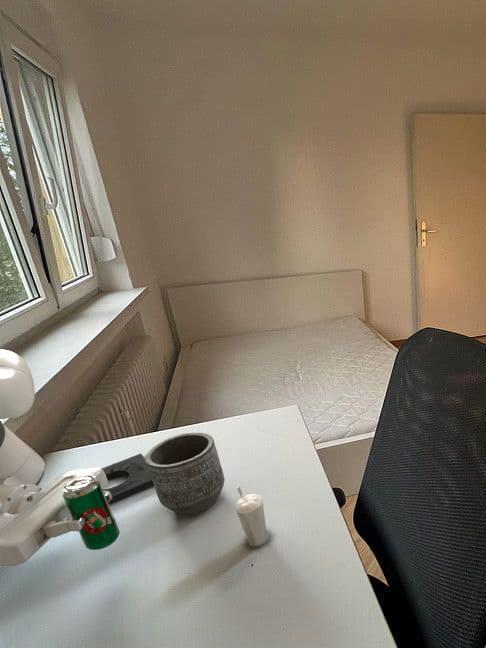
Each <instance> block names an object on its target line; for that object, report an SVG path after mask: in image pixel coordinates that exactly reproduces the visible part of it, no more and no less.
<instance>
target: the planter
mask: <svg viewBox="0 0 486 648" xmlns="http://www.w3.org/2000/svg"><path fill="white" fill-rule="evenodd" d="M219 457H220V456H219V453H218V450H217V446H216V444H215V440H214V437H212V435H210V434H208V433H205V432H186V433H181V434H177V435H174V436H171V437H167V439H164V440H162V441H161V442H159V443H157V444H156V445H154V446H153V447H151V448H150V449H149V450H148V452H147V453H146V454H145V457H144V458H145V461H146V464H147V467H148V471H149V473H150V476H151V479H152V481H153V484H154V486H153V487H154V490H155V493H156V495H157V498H158V501H159V503H160V504H161V506H163V507H165V508H166V509H167V510H169V511H171V512H173V513H175V514H177V515H179V516H183V517H184V516H186V517H191V516H194V515H199V514H201V513H204V512H206V511H208V510H209V509H211V508H212V507H213V506H214V505H215V504H216V503H217V502H218V500H219V498H220V496H221V493H222V491H223V488H224V485H225V480H226V479H225V475H224V472H223V468H222V465H221V461H220V458H219Z"/></svg>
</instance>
